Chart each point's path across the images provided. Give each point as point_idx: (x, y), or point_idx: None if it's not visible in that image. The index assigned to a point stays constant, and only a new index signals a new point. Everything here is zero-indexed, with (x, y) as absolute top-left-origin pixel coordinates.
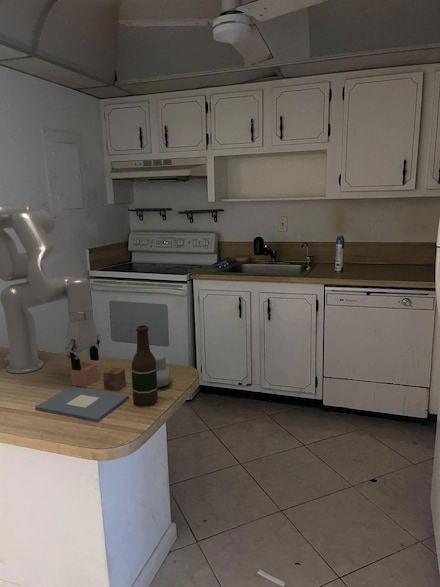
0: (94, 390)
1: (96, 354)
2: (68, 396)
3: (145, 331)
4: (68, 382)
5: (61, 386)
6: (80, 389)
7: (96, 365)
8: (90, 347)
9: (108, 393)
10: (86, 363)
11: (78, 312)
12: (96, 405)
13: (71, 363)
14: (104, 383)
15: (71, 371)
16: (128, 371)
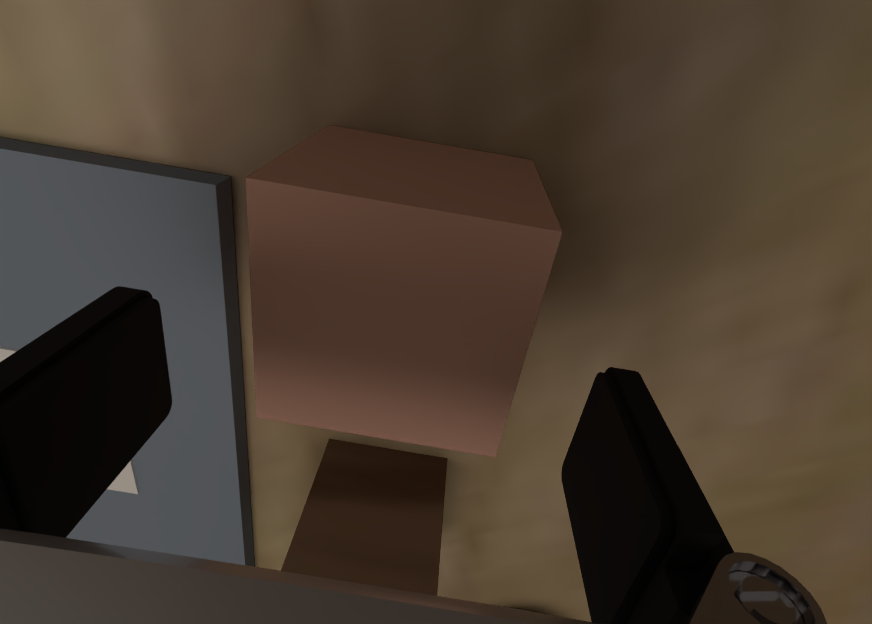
0: (227, 422)
1: (579, 554)
2: (25, 284)
3: None
4: (375, 33)
5: (243, 11)
6: (191, 315)
7: (484, 445)
8: (708, 587)
9: (224, 515)
10: (506, 323)
11: None
12: None
13: (44, 339)
14: (314, 481)
15: (269, 168)
16: (720, 484)
